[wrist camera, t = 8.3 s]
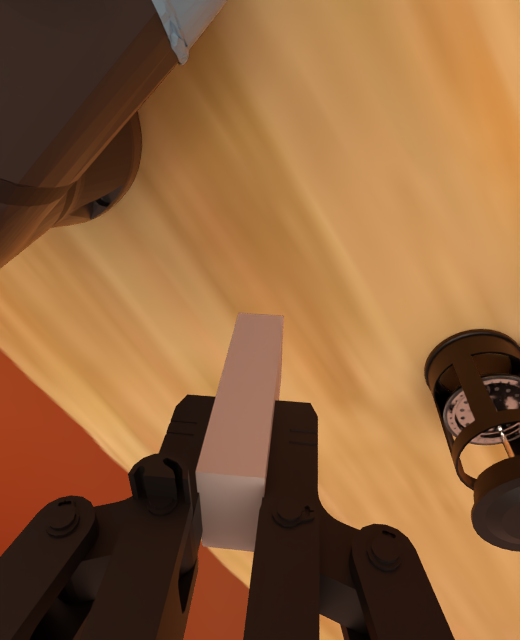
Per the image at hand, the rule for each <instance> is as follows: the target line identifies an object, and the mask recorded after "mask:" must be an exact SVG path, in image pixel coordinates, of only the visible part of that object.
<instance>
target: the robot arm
mask: <svg viewBox="0 0 520 640" xmlns="http://www.w3.org/2000/svg"><path fill="white" fill-rule="evenodd" d="M226 1H227V0H0V268H2V267H3V266H4V265H5V264H7V263H8V262H9V261H10V260H12V259H13V258H14V257H15V256H17V255H18V254H19V253H20V252H22V251H23V250H24V249H25V248H26V247H28V246H29V245H30V244H31V243H33V242H34V241H35V240H36V239H38V238H39V237H40V236H41V235H43V234H44V233H45V232H46V231H48V230H49V229H50V228H53V227H61V226H68V225H75V224H80V223H84V222H87V221H90V220H92V219H94V218H96V217H98V216H100V215H102V214H103V213H105V212H106V211H108V210H109V209H110V208H111V207H112V206H113V205H114V204H116V203H117V202H118V201H119V200H120V199H121V198H122V197H123V196H124V194H125V193H126V192H127V191H128V189H129V188H130V186H131V184H132V183H133V181H134V178H135V176H136V174H137V171H138V167H139V163H140V158H141V144H142V141H141V130H140V124H139V119H138V115H137V110H138V109H139V108H140V106H141V105H142V104H143V103H144V102H145V101H146V99H147V98H148V97H149V96H150V95H151V94H152V92H153V91H154V90H155V89H156V88H157V87H158V85H159V84H160V83H161V82H162V81H163V80H164V78H165V77H166V76H167V75H168V74H169V73H170V71H171V70H172V69H173V68H174V67H175V65H176V64H177V63H179V64H180V65H184V64H185V63H186V62H187V60H188V58H189V50H190V48H191V47H192V46H193V45H194V43H195V42H196V41H197V39H198V38H199V37H200V36H201V34H202V33H203V32H204V31H205V29H206V28H207V27H208V25H209V24H210V23H211V22H212V20H213V19H214V18H215V16H216V15H217V14H218V13H219V11H220V10H221V9H222V7H223V6H224V5H225V3H226ZM283 318H284V316H281V315H265V314H249V313H238V316H237V320H236V324H235V328H234V331H233V335H232V339H231V342H230V346H229V350H228V353H227V357H226V361H225V364H224V368H223V372H222V376H221V379H220V383H219V387H218V390H217V394H216V397H212V396H199V395H187V396H186V397H185V398H184V399H183V400H182V401H181V402H180V403H179V404H178V405H177V406H176V408H175V410H174V413H173V416H172V419H171V423H170V424H169V427H168V430H167V434H166V435H165V438H164V440H163V443H162V446H161V449H160V451H159V454H153V455H150V456H147V457H145V458H143V459H141V460H140V461H139V462H137V463H136V464H135V465H134V466H133V467H132V469H131V470H130V472H129V473H128V476H129V481H130V486H131V490H132V494H133V496H132V497H130V498H128V499H126V500H123V501H119V502H116V503H111V504H106V505H101V506H96V507H93V505H92V504H91V502H90V501H88V500H87V499H85V498H84V497H80V496H66V497H62V498H59V499H57V500H55V501H53V502H51V503H49V504H47V505H46V506H45V507H44V508H43V509H42V510H40V511H39V512H38V513H37V514H36V516H35V517H34V518H33V519H32V520H31V522H30V523H29V524H28V525H27V526H26V527H25V529H24V530H23V531H22V532H21V533H20V535H19V536H18V537H17V538H16V539H15V540H14V541H13V543H12V544H11V545H10V546H9V547H8V549H7V550H6V551H5V552H4V553H3V554H2V556H1V557H0V640H183V638H184V633H185V628H186V624H187V619H188V614H189V610H190V605H191V600H192V596H193V591H194V586H195V581H196V577H197V572H198V550H199V545H200V541H201V537H202V546H205V547H215V548H224V549H234V550H244V551H253V552H254V557H253V565H252V573H251V581H250V590H249V598H248V606H247V614H246V622H245V630H244V638H243V640H319V614H321V615H323V616H325V617H327V618H329V619H331V620H333V621H335V622H337V623H339V624H340V625H341V629H342V633H343V637H344V640H455V639H454V637H453V635H452V632H451V630H450V628H449V625H448V623H447V621H446V618H445V616H444V614H443V612H442V609H441V607H440V605H439V602H438V600H437V598H436V595H435V593H434V591H433V589H432V586H431V584H430V582H429V579H428V577H427V575H426V572H425V570H424V568H423V565H422V563H421V561H420V559H419V556H418V554H417V552H416V549H415V548H414V546H413V545H412V543H411V542H410V540H409V539H408V537H406V536H405V535H404V534H403V533H401V532H400V531H399V530H398V529H395V528H393V527H390V526H388V525H383V524H372V525H369V526H366V527H363V528H362V529H361V530H358V529H356V528H353V527H351V526H348V525H346V524H344V523H342V522H340V521H338V520H336V519H334V518H333V517H332V516H331V515H330V514H328V513H327V512H326V510H325V509H324V508H323V506H322V504H321V502H320V500H319V496H318V416H317V414H316V412H315V411H314V409H313V407H312V405H311V403H303V402H290V401H279V393H280V383H281V365H282V341H283Z"/></svg>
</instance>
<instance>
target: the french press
mask: <svg viewBox="0 0 520 640" xmlns="http://www.w3.org/2000/svg"><path fill="white" fill-rule="evenodd" d="M485 353H496V354H503V355H507V356H509V359H510V370H509V373H508V374H503V373H493V374H485V375H480V374H479V372H478V370H477V367H476V365H475V363H474V361H473V359H472V357H471V356H473V355H478V354H485ZM452 365H453V366H454V368H455V371H456V373H457V376H458V379H459V381H460V384H461V385H459V386H458V387H457V388H456V389H455V390H454V391H453V392H451V391H449V390H447V389H446V388H445V387H444V386H443V385H442V384H441V382H440V381H439V379H440V377H441V375H442V374H443V373H444V372H445V371H446V370H447V369H448V368H449V367H451V366H452ZM425 379H426V383H427V385H428V387H429V389H430V390H431V391H432V395H433V398H434V401H435V404H436V408H437V411H438V414H439V417H440V421H441V424H442V427H443V430H444V433H445V437H446V440H447V443H448V446H449V450H450V453H451V456H452V459H453V463H454V466H455V469H456V472H457V475H458V477H459V478H460V480H461V481H462V482H463V483H464V484H465V485H466V486H467V487H469V488H470V489H472V490H473V491H474V505H473V508H472V510H471V520H472V524H473V527H474V529H475V531H476V532H477V534H478V535H479V536H480V537H481V538H482V539H483V540H485V541H487V542H488V543H490V544H492V545H494V546H497V547H499V548H502V549H507V550H511V551H519V552H520V347H519V346H518V344H517V343H516V342H515V341H514V340H513V339H511V338H510V337H509V336H507V335H505V334H503V333H500V332H497V331H493V330H483V329H479V330H469V331H465V332H461V333H458V334H456V335H453V336H451V337H449V338H448V339H446V340H444V341H443V342H441V343H440V344H439V345H438V346H437V347H436V348H435V349H434V350H433V351H432V352H431V354H430V355H429V357H428V359H427V361H426V365H425ZM452 435H453V436H455V437H456V439H455V441H454V439H453V436H452ZM468 443H471V444H476V445H495V444H501V443H503V445H504V447H505V450H506V452H507V454H508V456H509V458H507V459H504V460H502V461H500V462H498V463H495V464H493V465H492V466H490V467H489V468H487V469H486V470H484V471H483V472H482V473H481V474H480V475H479V476H478V478H477V479H475V478H472V477H470V476H469V475H467V474H466V473H464V470H463V467H462V464H461V461H460V458H459V457H460V454H461V452H462V451H463V449H464V448H465V446H466V445H467V444H468Z"/></svg>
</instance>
